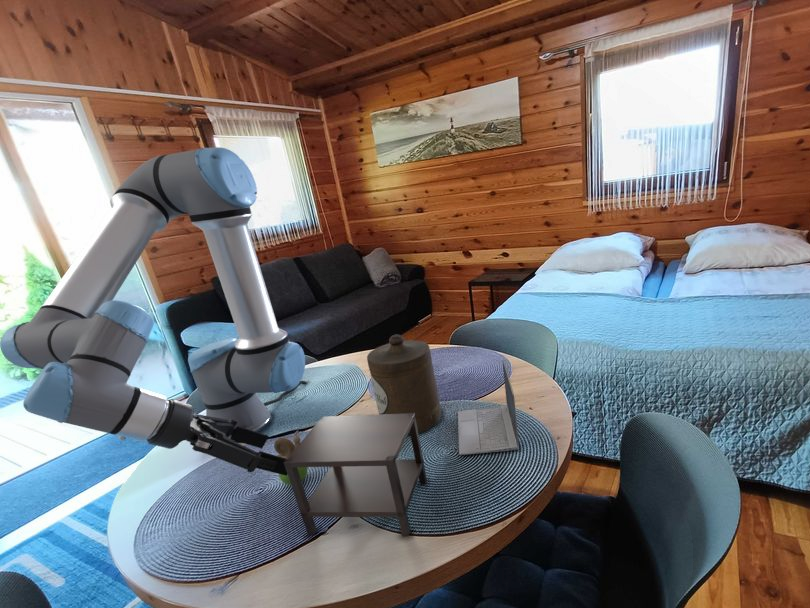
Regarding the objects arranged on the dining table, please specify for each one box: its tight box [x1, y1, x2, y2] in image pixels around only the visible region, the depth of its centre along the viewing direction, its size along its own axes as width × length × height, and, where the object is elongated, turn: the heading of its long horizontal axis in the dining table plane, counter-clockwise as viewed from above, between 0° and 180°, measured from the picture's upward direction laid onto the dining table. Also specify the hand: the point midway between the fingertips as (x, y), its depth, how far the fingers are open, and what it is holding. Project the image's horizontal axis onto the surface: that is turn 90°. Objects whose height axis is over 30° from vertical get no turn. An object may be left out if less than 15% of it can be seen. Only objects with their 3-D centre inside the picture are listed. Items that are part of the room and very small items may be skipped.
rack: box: [284, 413, 428, 537], centre depth 76 cm, size 14×18×15 cm
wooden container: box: [366, 333, 442, 436], centre depth 102 cm, size 15×15×22 cm
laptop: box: [457, 359, 520, 456], centre depth 95 cm, size 18×12×13 cm
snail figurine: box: [273, 430, 309, 486], centre depth 86 cm, size 5×6×12 cm
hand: (276, 454), depth 84 cm, fingers open, 13 cm apart
